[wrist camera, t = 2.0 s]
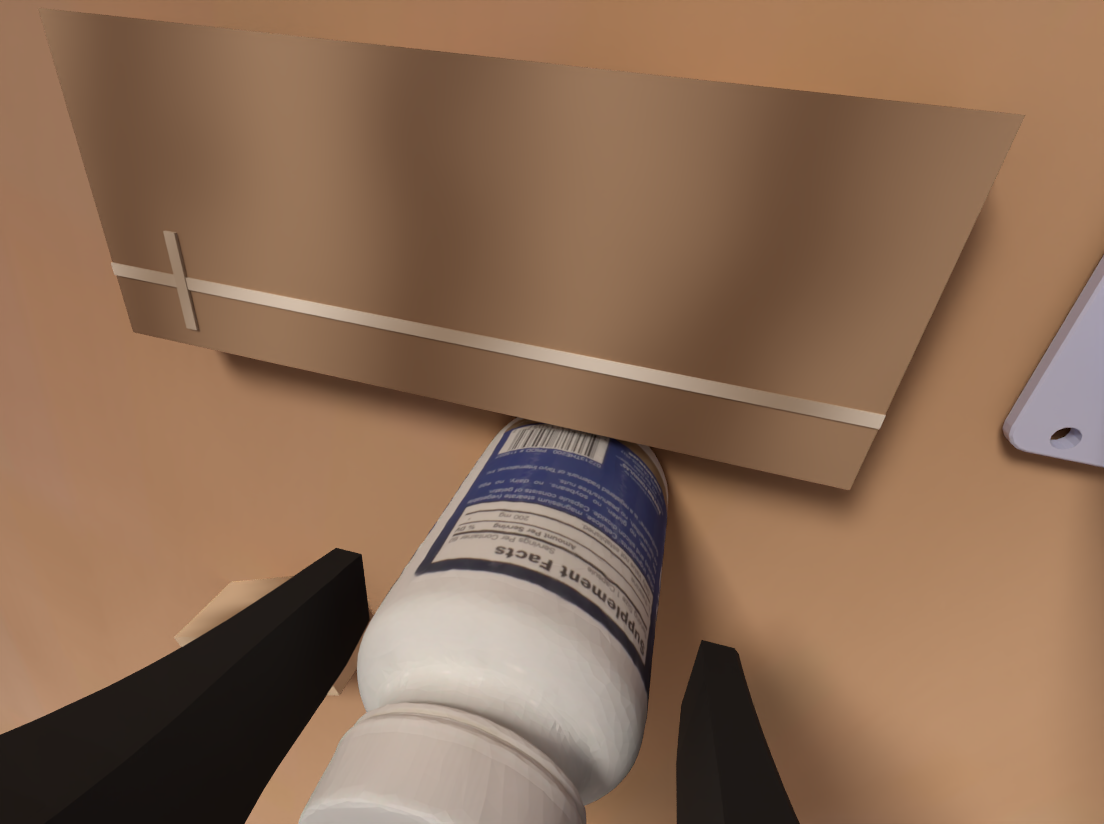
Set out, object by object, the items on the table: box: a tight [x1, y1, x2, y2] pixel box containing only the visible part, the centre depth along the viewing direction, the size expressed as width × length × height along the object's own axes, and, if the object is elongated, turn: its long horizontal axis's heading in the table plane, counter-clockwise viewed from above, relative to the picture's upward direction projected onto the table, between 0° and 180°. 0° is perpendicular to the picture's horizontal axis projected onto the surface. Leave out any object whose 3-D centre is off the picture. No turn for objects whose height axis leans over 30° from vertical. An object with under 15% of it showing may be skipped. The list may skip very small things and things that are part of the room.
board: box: [38, 8, 1025, 490], centre depth 12 cm, size 18×7×2 cm, turn 84°
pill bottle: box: [299, 417, 668, 824], centre depth 12 cm, size 5×5×10 cm
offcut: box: [174, 576, 373, 695], centre depth 21 cm, size 6×3×3 cm, turn 109°
